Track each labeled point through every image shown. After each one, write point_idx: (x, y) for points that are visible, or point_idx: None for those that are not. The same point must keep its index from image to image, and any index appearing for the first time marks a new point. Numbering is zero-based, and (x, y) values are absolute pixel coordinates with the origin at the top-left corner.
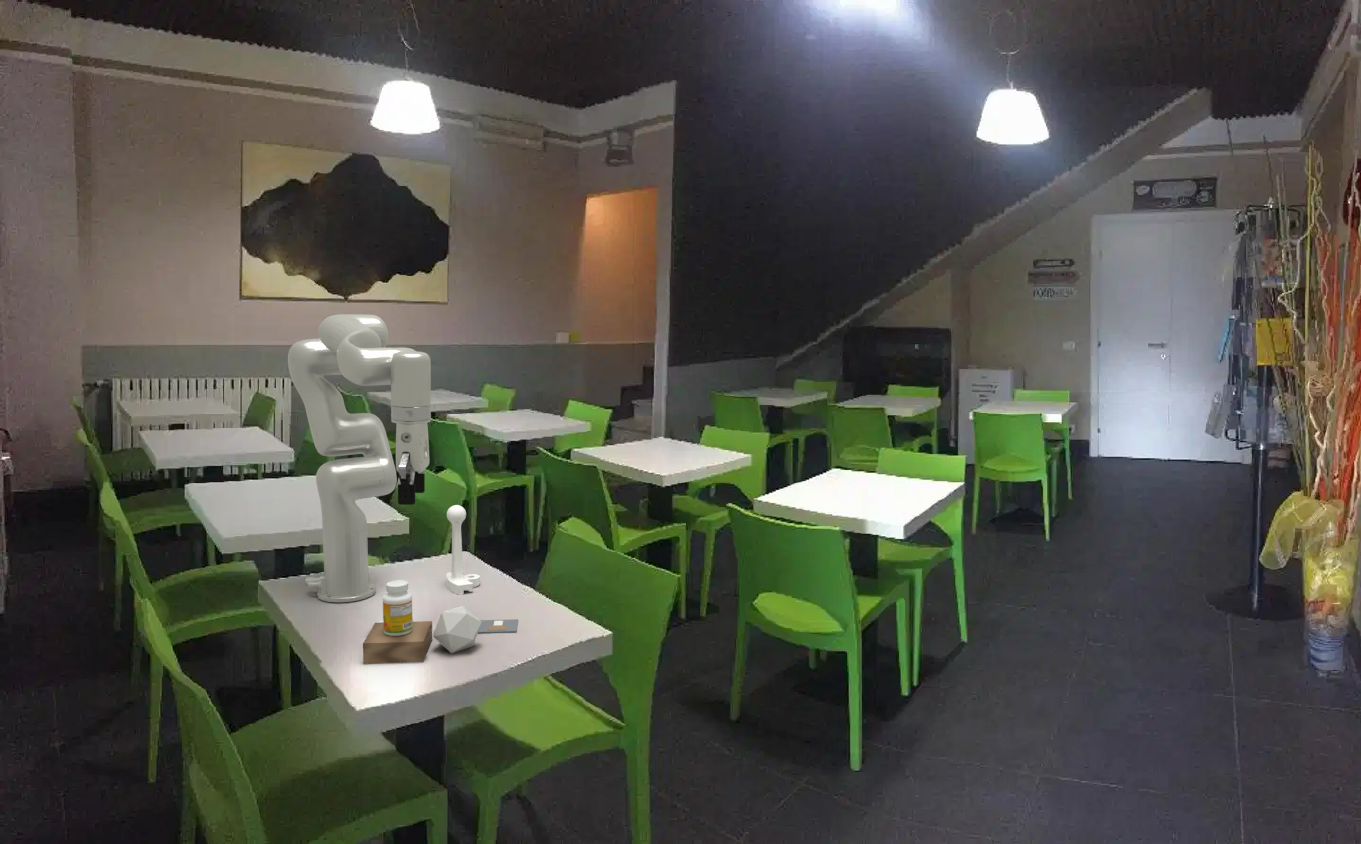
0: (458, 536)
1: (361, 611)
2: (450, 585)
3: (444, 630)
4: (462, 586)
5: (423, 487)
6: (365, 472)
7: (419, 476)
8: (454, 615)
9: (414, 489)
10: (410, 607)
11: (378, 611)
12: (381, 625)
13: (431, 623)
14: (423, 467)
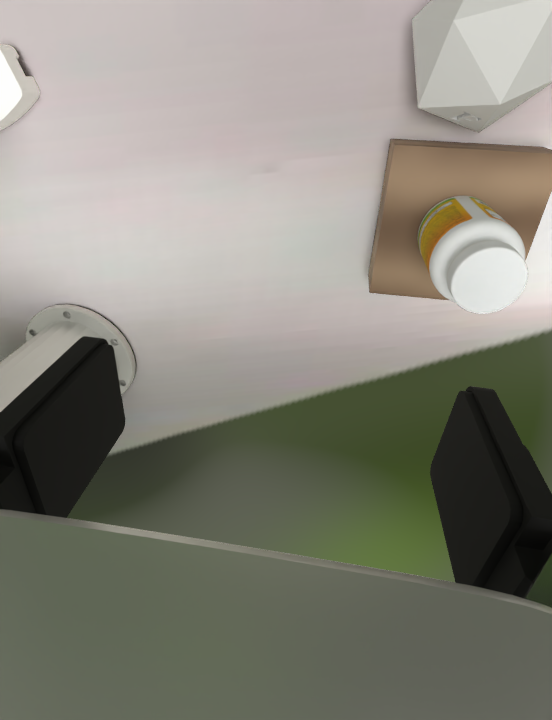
0: None
1: (179, 319)
2: (3, 123)
3: (539, 89)
4: (19, 79)
5: (87, 361)
6: None
7: (39, 454)
8: (535, 50)
9: (538, 478)
10: (496, 215)
11: (178, 286)
12: (394, 276)
13: (402, 144)
14: (456, 652)
